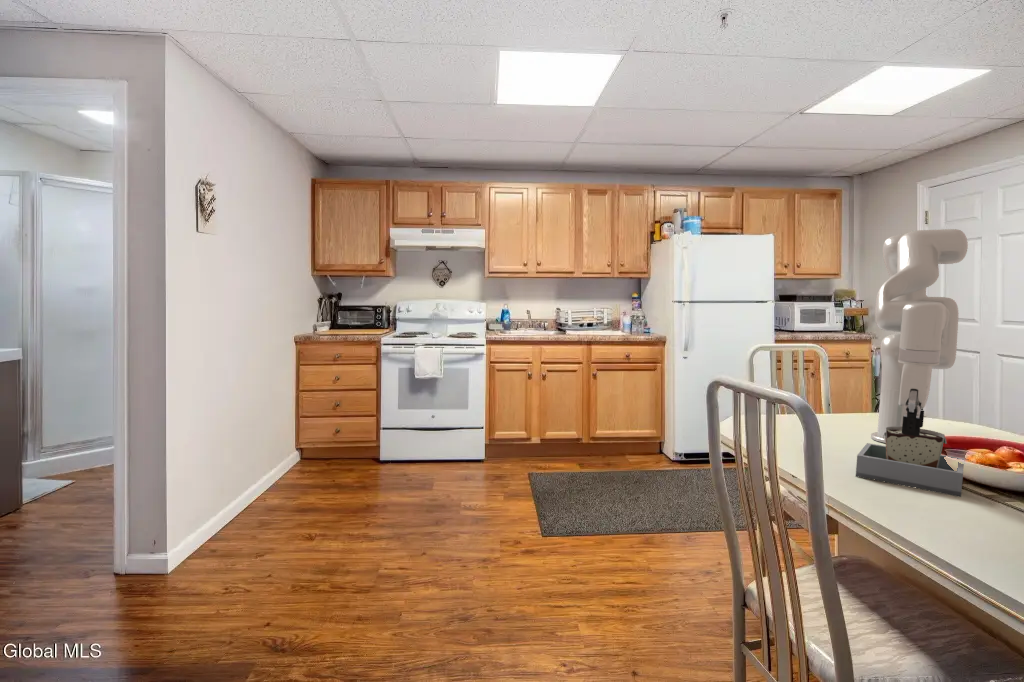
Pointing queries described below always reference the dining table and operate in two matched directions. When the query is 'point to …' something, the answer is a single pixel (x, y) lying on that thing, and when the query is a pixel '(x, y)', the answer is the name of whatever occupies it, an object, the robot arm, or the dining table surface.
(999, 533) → the dining table surface
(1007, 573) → the dining table surface
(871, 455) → the bin
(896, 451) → the food container
